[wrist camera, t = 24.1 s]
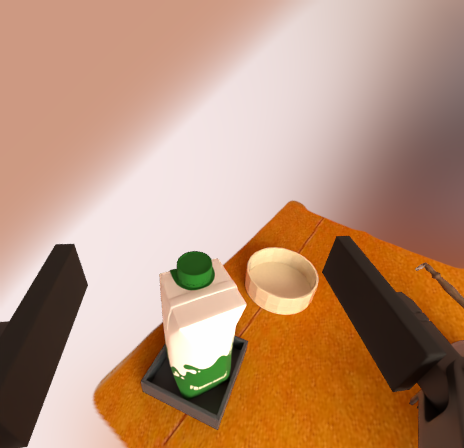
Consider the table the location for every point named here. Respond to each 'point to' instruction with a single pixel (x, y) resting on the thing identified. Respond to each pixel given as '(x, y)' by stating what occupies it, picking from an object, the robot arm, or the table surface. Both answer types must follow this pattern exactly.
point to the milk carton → (199, 322)
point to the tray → (203, 406)
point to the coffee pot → (460, 346)
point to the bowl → (280, 280)
